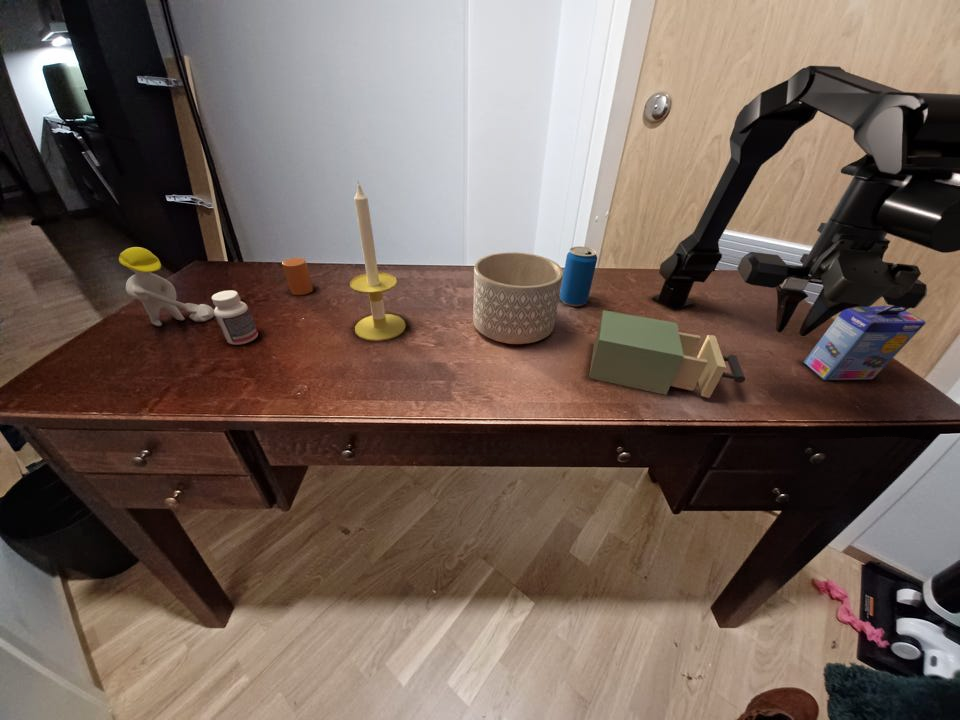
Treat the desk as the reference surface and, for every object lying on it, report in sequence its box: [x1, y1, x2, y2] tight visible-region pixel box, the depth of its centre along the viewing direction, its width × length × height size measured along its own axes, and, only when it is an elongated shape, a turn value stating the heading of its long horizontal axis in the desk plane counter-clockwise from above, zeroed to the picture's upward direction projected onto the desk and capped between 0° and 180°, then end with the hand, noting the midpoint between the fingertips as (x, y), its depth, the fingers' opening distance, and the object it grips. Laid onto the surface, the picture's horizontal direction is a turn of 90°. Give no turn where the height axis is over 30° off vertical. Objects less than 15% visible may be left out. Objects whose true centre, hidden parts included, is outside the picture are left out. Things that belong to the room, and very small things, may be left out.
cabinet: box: [588, 309, 684, 396], centre depth 62 cm, size 12×10×8 cm
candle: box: [349, 181, 407, 342], centre depth 65 cm, size 10×10×27 cm
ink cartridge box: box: [803, 305, 927, 381], centre depth 62 cm, size 10×6×14 cm, turn 95°
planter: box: [472, 251, 564, 345], centre depth 71 cm, size 16×16×13 cm
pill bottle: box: [211, 289, 259, 346], centre depth 66 cm, size 5×5×9 cm
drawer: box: [670, 331, 746, 399], centre depth 60 cm, size 15×9×6 cm, turn 71°
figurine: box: [118, 246, 215, 327], centre depth 69 cm, size 10×9×15 cm
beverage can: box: [559, 246, 598, 307], centre depth 82 cm, size 6×6×12 cm
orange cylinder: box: [282, 257, 314, 296], centre depth 83 cm, size 5×5×7 cm
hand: (789, 332), depth 53 cm, fingers open, 3 cm apart
